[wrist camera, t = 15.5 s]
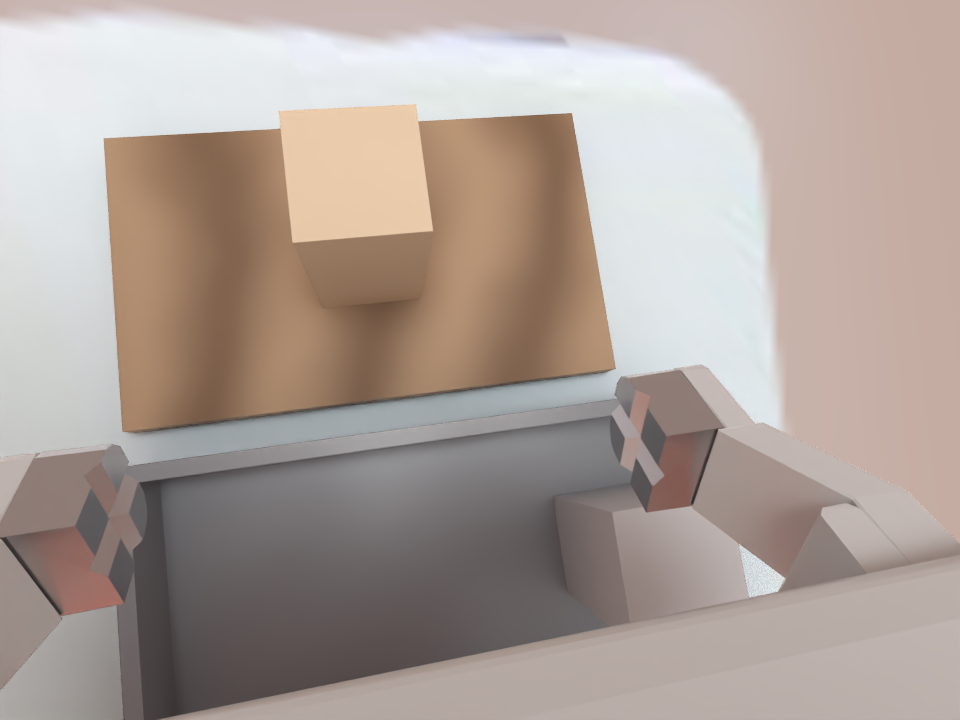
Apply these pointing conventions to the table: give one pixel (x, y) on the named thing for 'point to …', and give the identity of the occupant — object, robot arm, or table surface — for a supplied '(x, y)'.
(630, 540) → the plain box
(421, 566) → the bin
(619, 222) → the table surface
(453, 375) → the pad
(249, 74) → the table surface
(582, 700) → the robot arm
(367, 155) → the labelled box
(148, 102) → the table surface
